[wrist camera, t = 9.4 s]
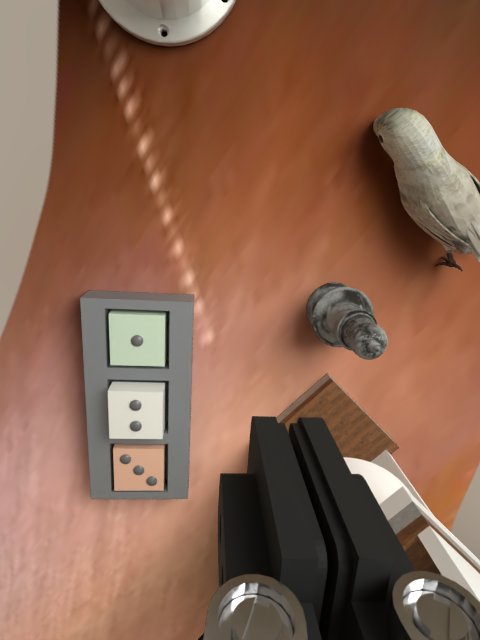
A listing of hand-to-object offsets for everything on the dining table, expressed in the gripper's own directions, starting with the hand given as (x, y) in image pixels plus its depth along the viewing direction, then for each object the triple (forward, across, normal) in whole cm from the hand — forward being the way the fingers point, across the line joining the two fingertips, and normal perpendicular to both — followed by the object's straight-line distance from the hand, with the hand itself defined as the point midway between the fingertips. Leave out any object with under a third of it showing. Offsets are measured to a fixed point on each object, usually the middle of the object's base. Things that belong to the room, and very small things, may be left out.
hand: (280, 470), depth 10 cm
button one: (+30, +8, +7) cm, 32 cm away
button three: (+30, +8, +21) cm, 37 cm away
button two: (+28, +8, +14) cm, 33 cm away
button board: (+31, +8, +14) cm, 35 cm away
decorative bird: (+32, -18, -8) cm, 37 cm away
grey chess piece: (+31, -11, +4) cm, 33 cm away
